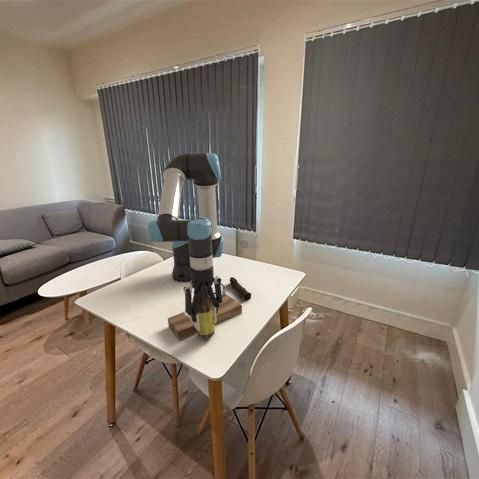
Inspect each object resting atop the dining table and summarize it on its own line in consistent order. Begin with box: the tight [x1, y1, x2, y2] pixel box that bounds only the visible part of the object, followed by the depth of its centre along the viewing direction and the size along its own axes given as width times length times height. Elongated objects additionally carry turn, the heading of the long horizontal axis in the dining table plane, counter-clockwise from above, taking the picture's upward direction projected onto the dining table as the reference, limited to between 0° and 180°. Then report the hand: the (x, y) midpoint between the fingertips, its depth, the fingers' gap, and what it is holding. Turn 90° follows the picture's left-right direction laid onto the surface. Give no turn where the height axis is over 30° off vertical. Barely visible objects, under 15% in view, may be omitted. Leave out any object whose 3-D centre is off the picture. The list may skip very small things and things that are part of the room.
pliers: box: [213, 282, 229, 297], centre depth 126 cm, size 10×1×20 cm
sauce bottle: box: [197, 286, 216, 340], centre depth 93 cm, size 6×6×20 cm
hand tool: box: [229, 276, 252, 302], centre depth 126 cm, size 19×4×5 cm, turn 24°
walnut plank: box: [167, 294, 243, 342], centre depth 105 cm, size 10×28×4 cm, turn 126°
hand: (205, 324), depth 94 cm, fingers closed on sauce bottle, 6 cm apart
